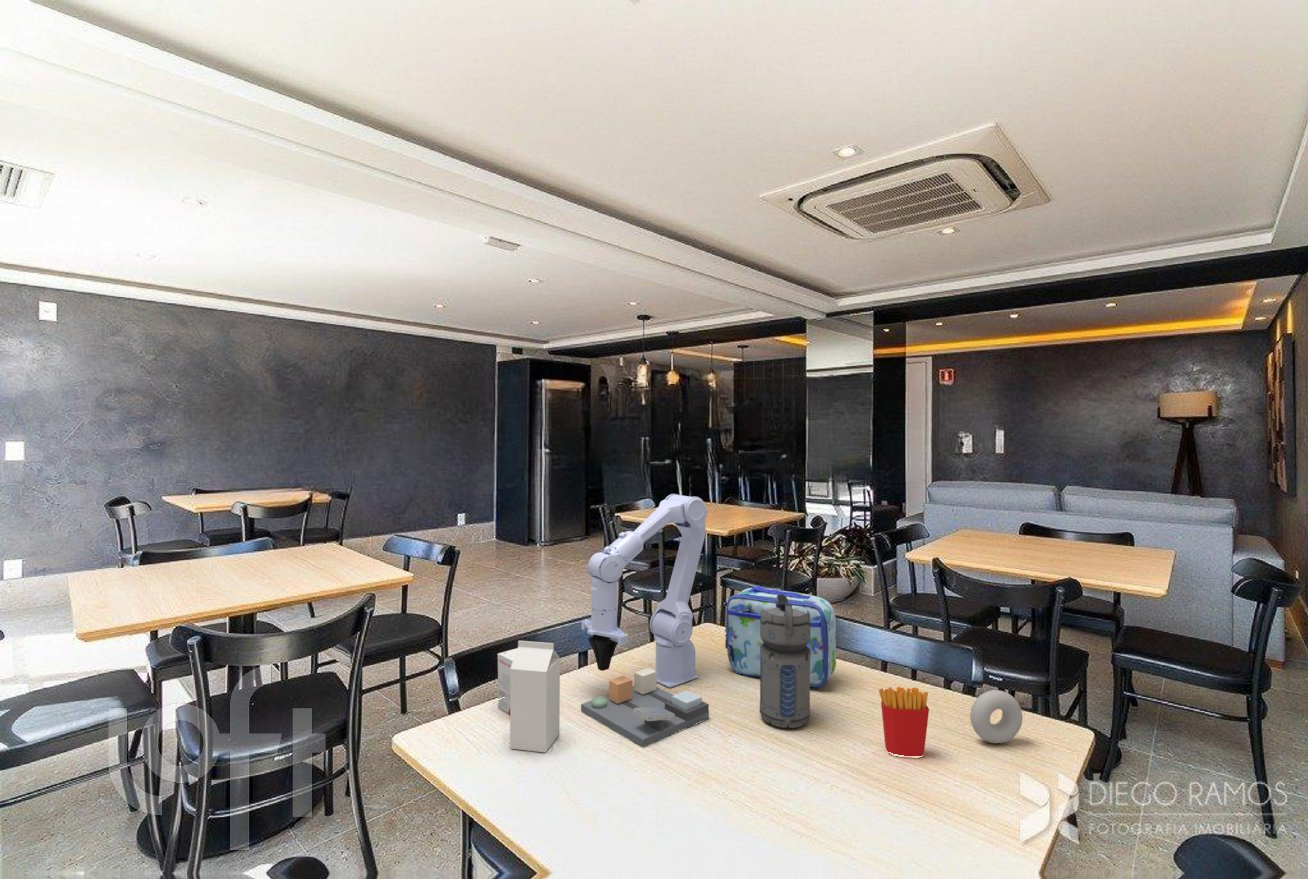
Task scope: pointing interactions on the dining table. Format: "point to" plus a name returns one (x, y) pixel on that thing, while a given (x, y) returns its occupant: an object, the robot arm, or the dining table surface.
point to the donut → (1009, 719)
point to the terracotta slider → (620, 689)
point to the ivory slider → (645, 681)
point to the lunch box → (747, 641)
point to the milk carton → (534, 696)
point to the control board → (637, 727)
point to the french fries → (904, 720)
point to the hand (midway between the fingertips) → (603, 669)
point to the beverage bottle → (785, 665)
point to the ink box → (505, 678)
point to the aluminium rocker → (653, 713)
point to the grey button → (686, 700)
